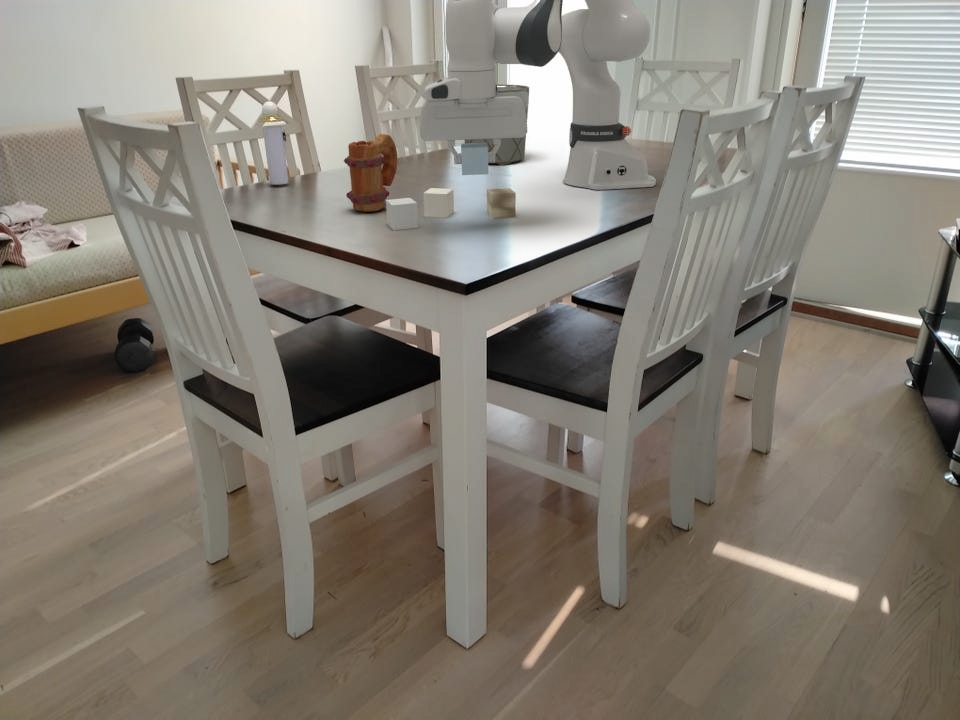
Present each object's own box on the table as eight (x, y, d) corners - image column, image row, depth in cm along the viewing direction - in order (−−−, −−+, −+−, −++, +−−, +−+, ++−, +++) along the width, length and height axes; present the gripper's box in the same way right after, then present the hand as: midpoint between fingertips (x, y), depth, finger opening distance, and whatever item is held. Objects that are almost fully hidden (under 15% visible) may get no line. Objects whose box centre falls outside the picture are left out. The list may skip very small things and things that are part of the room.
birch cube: (509, 211, 156) (510, 188, 154) (515, 217, 152) (515, 193, 150) (486, 212, 155) (486, 189, 153) (491, 218, 151) (491, 194, 149)
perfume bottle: (276, 189, 179) (265, 103, 171) (263, 185, 183) (251, 101, 174) (296, 185, 183) (286, 101, 175) (283, 182, 187) (272, 99, 178)
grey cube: (411, 222, 149) (410, 197, 147) (418, 228, 145) (417, 202, 143) (387, 224, 148) (385, 199, 145) (393, 230, 143) (392, 205, 141)
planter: (539, 158, 214) (541, 85, 206) (506, 169, 200) (507, 91, 191) (484, 153, 223) (484, 83, 215) (449, 162, 209) (447, 88, 200)
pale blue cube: (487, 168, 143) (486, 142, 141) (488, 174, 139) (487, 147, 137) (462, 169, 143) (461, 143, 141) (462, 175, 139) (461, 148, 137)
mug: (369, 216, 153) (363, 142, 147) (340, 212, 157) (333, 140, 151) (411, 202, 164) (407, 133, 158) (383, 198, 168) (378, 131, 162)
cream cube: (453, 212, 156) (453, 189, 154) (447, 218, 152) (446, 194, 150) (431, 211, 157) (430, 188, 155) (424, 217, 153) (423, 193, 151)
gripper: (527, 82, 137) (527, 157, 143) (418, 86, 137) (423, 161, 143) (530, 86, 132) (530, 164, 138) (416, 90, 131) (421, 168, 138)
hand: (474, 163), depth 140 cm, fingers closed on pale blue cube, 5 cm apart
